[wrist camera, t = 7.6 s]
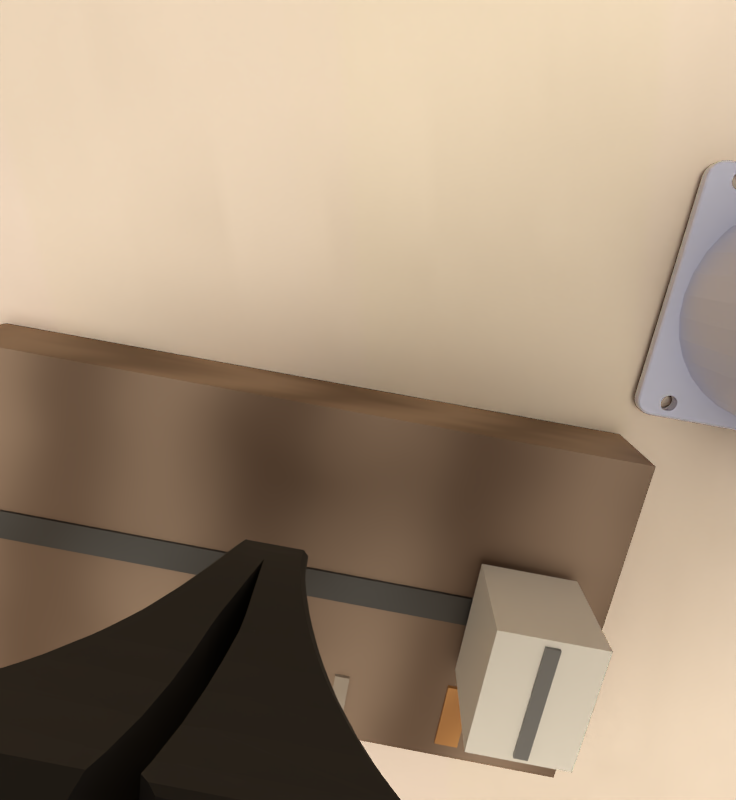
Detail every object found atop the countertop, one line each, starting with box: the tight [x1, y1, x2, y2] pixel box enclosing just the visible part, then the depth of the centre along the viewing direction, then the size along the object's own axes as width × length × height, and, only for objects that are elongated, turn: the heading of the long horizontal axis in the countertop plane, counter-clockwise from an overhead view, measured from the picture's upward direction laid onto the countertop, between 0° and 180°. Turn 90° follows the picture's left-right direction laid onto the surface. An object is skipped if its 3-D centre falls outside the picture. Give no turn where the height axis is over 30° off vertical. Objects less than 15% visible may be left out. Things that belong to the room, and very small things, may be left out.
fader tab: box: [455, 564, 613, 773], centre depth 17 cm, size 3×4×3 cm
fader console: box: [0, 324, 655, 777], centre depth 20 cm, size 22×12×3 cm, turn 80°
